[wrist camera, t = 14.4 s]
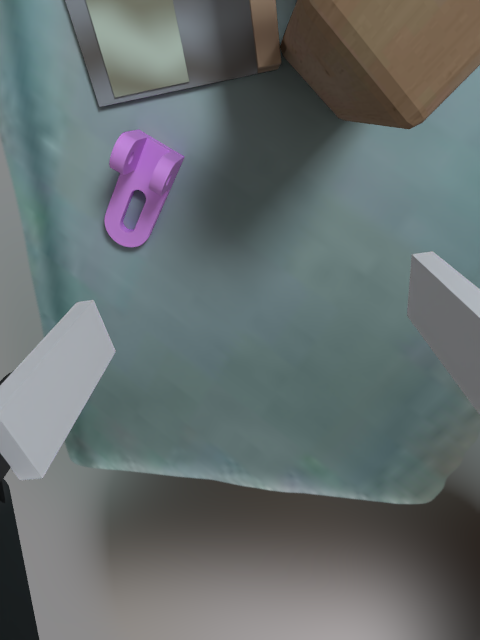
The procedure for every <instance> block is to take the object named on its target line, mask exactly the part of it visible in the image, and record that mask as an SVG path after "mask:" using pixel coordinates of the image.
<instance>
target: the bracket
mask: <svg viewBox="0 0 480 640" xmlns="http://www.w3.org/2000/svg"><path fill="white" fill-rule="evenodd" d="M183 159H184V156H182V155H181V154H179V153H177V152H176V151H174V150H172V149H171V148H169V147H167V146H166V145H164V144H162V143H161V142H159V141H157V140H155V139H154V138H152V137H150V136H149V135H147V134H145V133H144V132H142V131H140V130H134V131H128V132H124V133H122V134H121V135H120V137H119V138H118V140H117V141H116V143H115V146H114V148H113V150H112V153H111V157H110V163H109V165H110V168H112V169H114V170H116V171H117V172H119V173H120V175H119V178H118V181H117V183H116V186H115V189H114V192H113V195H112V197H111V200H110V203H109V206H108V209H107V212H106V214H105V227H106V230H107V232H108V234H109V235H110V237H111V238H112V239H113V240H114V241H115V242H117V243H118V244H120V245H122V246H126V247H137V246H140V245H142V244H143V243H144V242H145V241H146V240H147V239H148V238H149V236H150V235H151V233H152V230H153V228H154V226H155V223H156V221H157V219H158V217H159V214H160V212H161V210H162V207H163V205H164V203H165V200H166V198H167V196H168V194H169V191H170V189H171V187H172V184H173V182H174V180H175V178H176V175H177V173H178V171H179V168H180V166H181V164H182V162H183ZM135 190H140V191H142V192H143V193H144V194H145V196H146V202H145V205H144V207H143V210H142V212H141V215H140V217H139V219H138V222H137V224H136V227H135V229H134V230H130V229H127V228H126V227H125V226H124V223H123V219H124V216H125V214H126V211H127V209H128V206H129V203H130V201H131V198H132V196H133V193H134V191H135Z"/></svg>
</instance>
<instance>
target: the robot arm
mask: <svg viewBox="0 0 480 640" xmlns="http://www.w3.org/2000/svg"><path fill="white" fill-rule="evenodd" d="M407 316H408V318H409V319H410V320H411V322H412V323H413V324H414V326H415V327H416V328H417V330H418V331H419V333H420V334H421V335H422V337H423V338H424V339H425V341H426V342H427V344H428V345H429V346H430V348H431V349H432V350H433V352H434V353H435V354H436V356H437V357H438V359H439V360H440V361H441V363H442V364H443V365H444V367H445V368H446V369H447V371H448V372H449V374H450V375H451V376H452V378H453V379H454V380H455V382H456V383H457V385H458V386H459V387H460V389H461V390H462V391H463V393H464V394H465V395H466V397H467V398H468V400H469V401H470V402H471V404H472V405H473V406H474V408H475V409H476V411H477V412H478V413H479V415H480V289H479V288H477V287H476V286H475V285H474V284H472V283H471V282H470V281H469V280H467V279H466V278H465V277H464V276H462V275H461V274H460V273H459V272H458V271H456V270H455V269H454V268H453V267H451V266H450V265H449V264H448V263H446V262H445V261H444V260H443V259H441V258H440V257H439V256H438V255H436V254H435V253H434V252H433V251H432V252H425V253H418V254H412V258H411V271H410V284H409V297H408V310H407ZM115 352H116V351H115V349H114V346H113V344H112V342H111V339H110V337H109V335H108V332H107V330H106V328H105V325H104V323H103V321H102V318H101V316H100V314H99V311H98V309H97V307H96V304H95V302H94V300H89V301H82V302H77V303H76V304H75V305H74V306H73V307H72V308H71V309H70V310H69V311H68V313H67V314H66V315H65V316H64V317H63V318H62V319H61V320H60V321H59V322H58V323H57V324H56V326H55V327H54V328H53V329H52V330H51V331H50V332H49V333H48V334H47V335H46V336H45V337H44V339H43V340H42V341H41V342H40V343H39V344H38V345H37V346H36V347H35V348H34V349H33V351H32V352H31V353H30V354H29V355H28V356H27V357H26V358H25V359H24V361H22V362H21V364H20V365H19V366H18V367H17V368H16V369H15V370H13V371H12V372H11V373H9V374H8V375H6V376H5V377H4V378H3V379H2V380H1V381H0V640H39V636H38V632H37V626H36V621H35V616H34V611H33V606H32V601H31V595H30V590H29V585H28V581H27V575H26V570H25V565H24V560H23V556H22V550H21V545H20V540H19V535H18V529H17V525H16V519H15V514H14V509H13V504H12V499H11V494H10V489H9V486H8V484H7V482H6V481H5V480H4V479H3V478H4V476H5V475H6V473H7V472H8V470H9V469H10V468H11V469H12V471H13V472H14V473H15V474H16V476H17V477H18V478H19V480H30V479H42V478H43V477H44V475H45V473H46V472H47V470H48V468H49V466H50V465H51V463H52V461H53V459H54V458H55V456H56V454H57V452H58V451H59V449H60V447H61V446H62V444H63V442H64V440H65V439H66V437H67V435H68V433H69V432H70V430H71V428H72V427H73V425H74V423H75V421H76V420H77V418H78V416H79V414H80V413H81V411H82V409H83V407H84V406H85V404H86V402H87V400H88V399H89V397H90V395H91V394H92V392H93V390H94V388H95V387H96V385H97V383H98V381H99V380H100V378H101V376H102V374H103V373H104V371H105V369H106V367H107V366H108V364H109V362H110V361H111V359H112V357H113V355H114V354H115Z"/></svg>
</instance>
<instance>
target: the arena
mask: <svg viewBox="0 0 480 640" xmlns="http://www.w3.org/2000/svg"><path fill="white" fill-rule="evenodd" d="M65 1H66V5H67V8H68V11H69V14H70V17H71V20H72V23H73V26H74V29H75V33H76V36H77V39H78V42H79V45H80V48H81V51H82V54H83V57H84V61H85V64H86V67H87V70H88V73H89V76H90V79H91V82H92V86H93V89H94V92H95V95H96V98H97V101H98V104H99V107H103V106H108V105H112V104H117V103H122V102H127V101H131V100H136V99H141V98H145V97H150V96H155V95H160V94H164V93H169V92H174V91H178V90H183V89H188V88H193V87H197V86H202V85H207V84H211V83H216V82H221V81H226V80H230V79H235V78H240V77H244V76H249V75H254V74H258V73H263V72H268V71H273V70H277V69H278V68H279V66H280V64H281V54H280V43H279V33H278V22H277V11H276V0H65Z"/></svg>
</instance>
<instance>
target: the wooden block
mask: <svg viewBox="0 0 480 640" xmlns="http://www.w3.org/2000/svg"><path fill="white" fill-rule="evenodd" d="M280 48H281V51H282V54H283V56H284V57H285V59H286V60H287V61H288V62H289V63H290V64H291V65H292V66H293V67H294V69H295V70H296V71H297V72H298V73H299V74H300V75H301V76H302V78H303V79H304V80H305V81H306V82H307V83H308V84H309V85H310V87H311V88H312V89H313V90H314V91H315V92H316V93H317V94H318V96H319V97H320V98H321V99H322V100H323V101H324V102H325V103H326V105H327V106H328V107H329V108H330V109H331V110H332V111H333V112H334V114H335V115H336V116H337V117H338V118H340V119H342V120H345V121H352V122H360V123H367V124H375V125H382V126H389V127H397V128H404V129H411V128H413V127H415V126H417V125H419V124H421V123H422V122H423V121H424V120H425V119H426V118H427V117H428V116H429V115H430V114H431V113H432V112H433V111H434V110H435V109H436V108H437V107H438V106H439V105H440V104H441V103H442V102H443V101H444V100H445V99H446V98H447V97H448V96H449V95H450V94H451V93H452V92H453V91H454V90H455V89H456V88H457V87H458V86H459V85H460V84H461V83H462V82H463V81H464V80H465V79H466V78H467V77H468V76H469V75H470V74H471V73H472V72H473V71H474V70H475V69H476V68H477V67H478V66H479V65H480V0H297V2H296V5H295V7H294V10H293V13H292V15H291V18H290V20H289V23H288V26H287V28H286V31H285V33H284V36H283V39H282V42H281V45H280Z"/></svg>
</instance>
